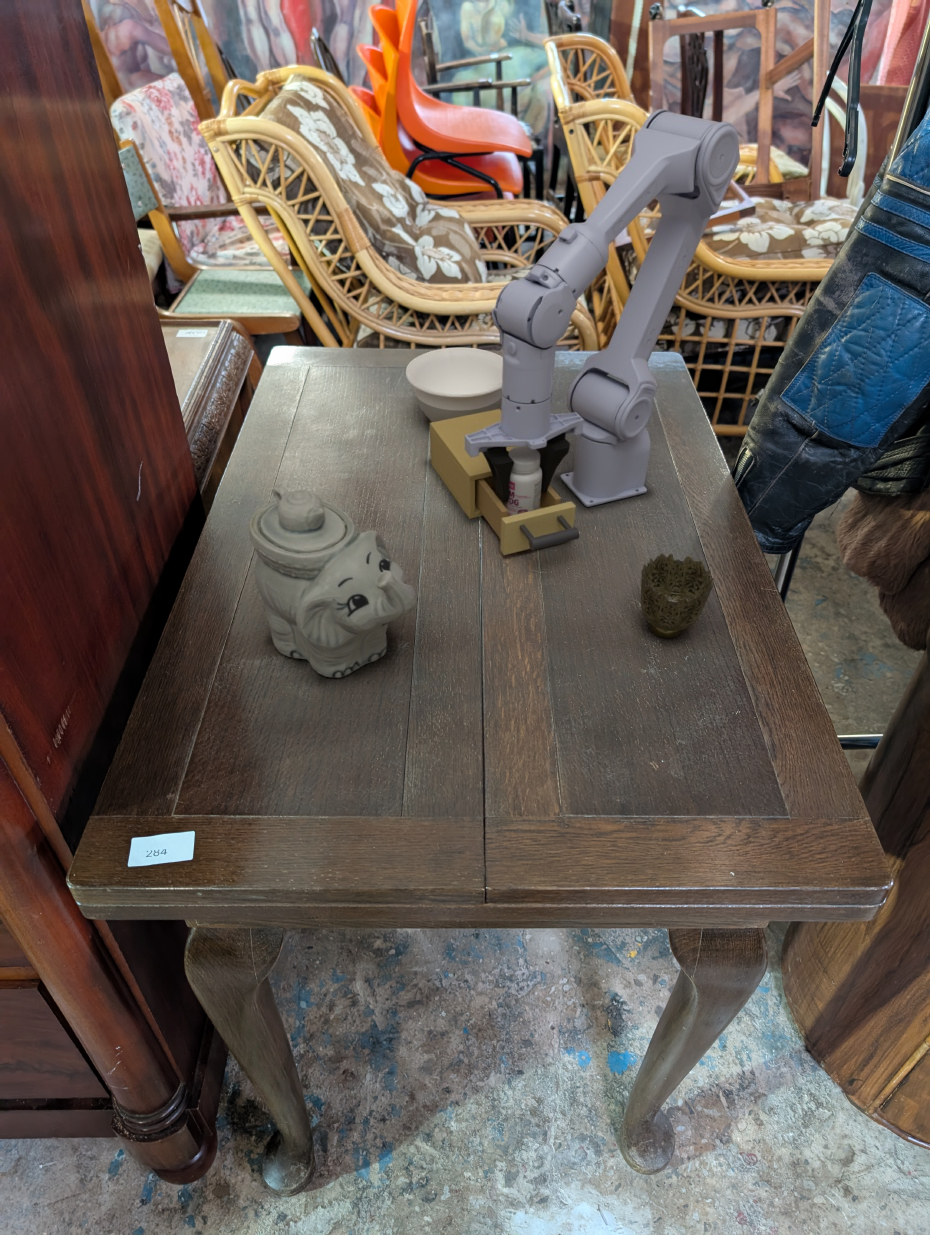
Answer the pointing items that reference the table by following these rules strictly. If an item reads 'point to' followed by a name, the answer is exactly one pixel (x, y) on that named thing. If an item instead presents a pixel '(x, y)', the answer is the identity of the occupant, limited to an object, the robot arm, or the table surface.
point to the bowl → (456, 382)
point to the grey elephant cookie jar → (325, 583)
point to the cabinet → (461, 456)
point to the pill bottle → (524, 481)
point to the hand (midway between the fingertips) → (521, 493)
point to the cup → (673, 593)
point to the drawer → (527, 519)
